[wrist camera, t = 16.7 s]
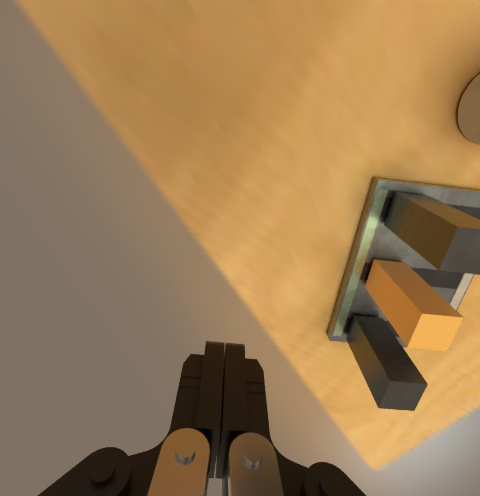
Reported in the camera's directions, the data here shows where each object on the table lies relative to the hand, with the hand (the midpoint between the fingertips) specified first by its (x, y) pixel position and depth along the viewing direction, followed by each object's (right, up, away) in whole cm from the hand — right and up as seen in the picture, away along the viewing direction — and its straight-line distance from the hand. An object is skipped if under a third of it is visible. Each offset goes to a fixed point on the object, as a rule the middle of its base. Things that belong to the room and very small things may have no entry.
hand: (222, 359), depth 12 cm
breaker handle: (+19, +1, +27) cm, 33 cm away
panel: (+23, +1, +29) cm, 37 cm away
